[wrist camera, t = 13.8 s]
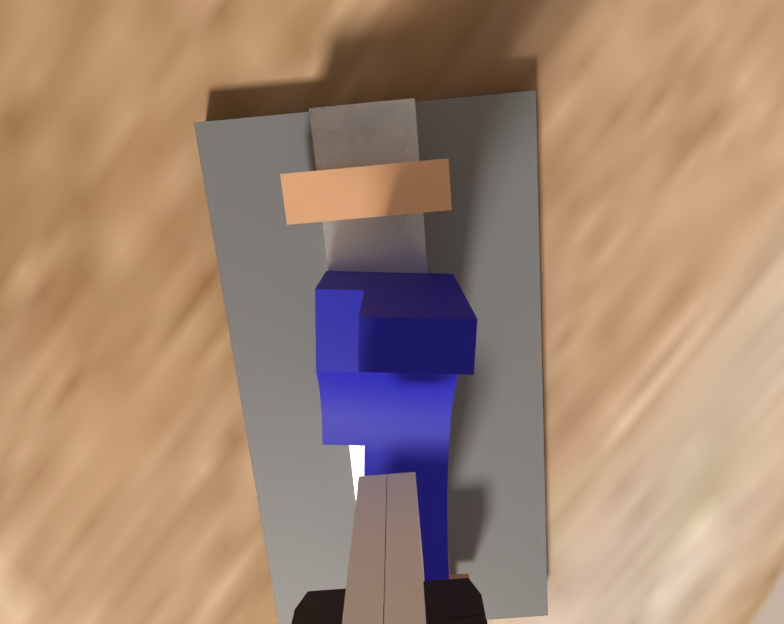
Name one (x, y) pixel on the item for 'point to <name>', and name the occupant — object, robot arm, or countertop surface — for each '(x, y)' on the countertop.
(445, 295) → the cable clip
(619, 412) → the countertop surface
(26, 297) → the countertop surface
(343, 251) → the rail mount
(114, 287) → the countertop surface
